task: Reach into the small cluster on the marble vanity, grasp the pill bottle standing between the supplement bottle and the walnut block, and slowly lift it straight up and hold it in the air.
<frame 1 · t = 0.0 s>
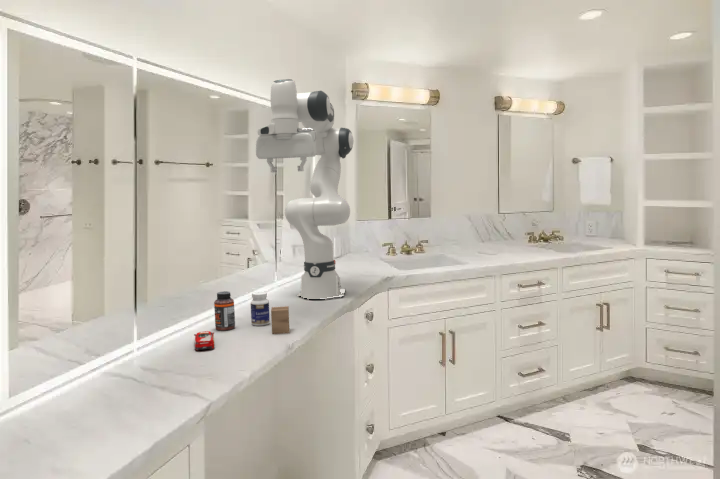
hand: (287, 171, 177), 48 cm above the worktop, fingers open, 8 cm apart
walnut block: (280, 331, 160), on the worktop
supplement bottle: (225, 329, 165), on the worktop
race car: (205, 346, 148), on the worktop
pill bottle: (260, 324, 170), on the worktop
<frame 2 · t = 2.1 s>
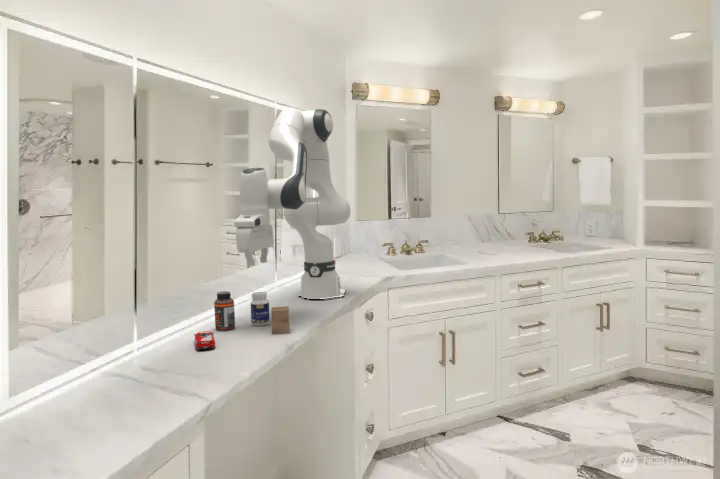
hand: (257, 264, 168), 19 cm above the worktop, fingers open, 8 cm apart
nothing on the worktop moved.
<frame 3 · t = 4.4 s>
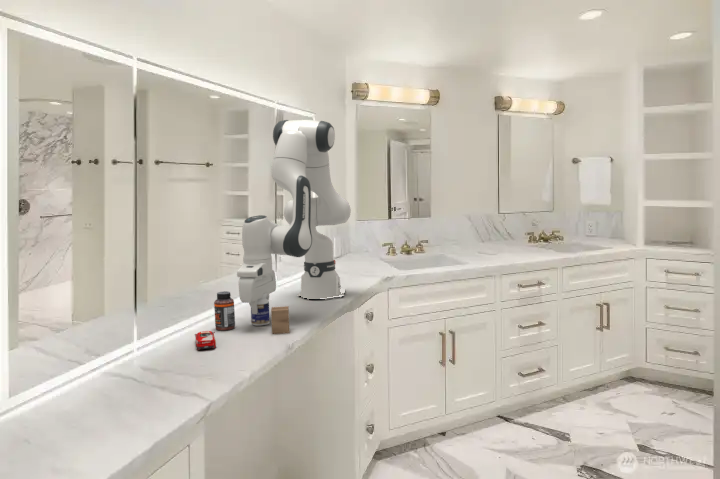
hand: (260, 311, 170), 4 cm above the worktop, fingers closed on pill bottle, 6 cm apart
pill bottle: (260, 324, 170), on the worktop, touching gripper
everything else where it was.
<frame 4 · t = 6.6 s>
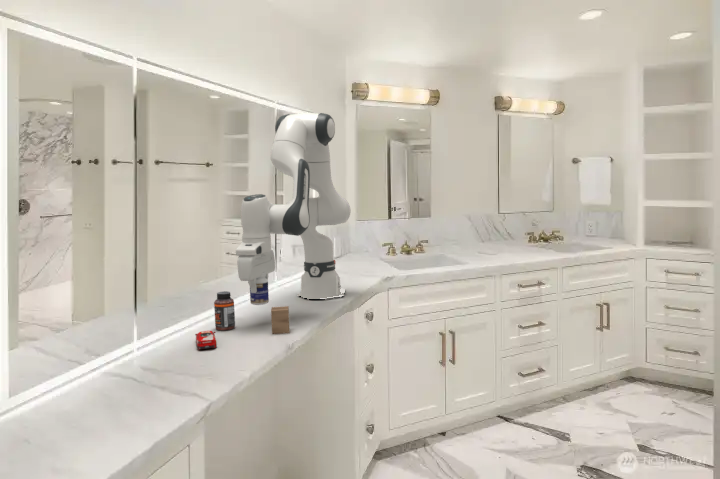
hand: (259, 290, 169), 11 cm above the worktop, fingers closed on pill bottle, 6 cm apart
pill bottle: (259, 304, 170), point 6 cm above the worktop, touching gripper
everything else where it was.
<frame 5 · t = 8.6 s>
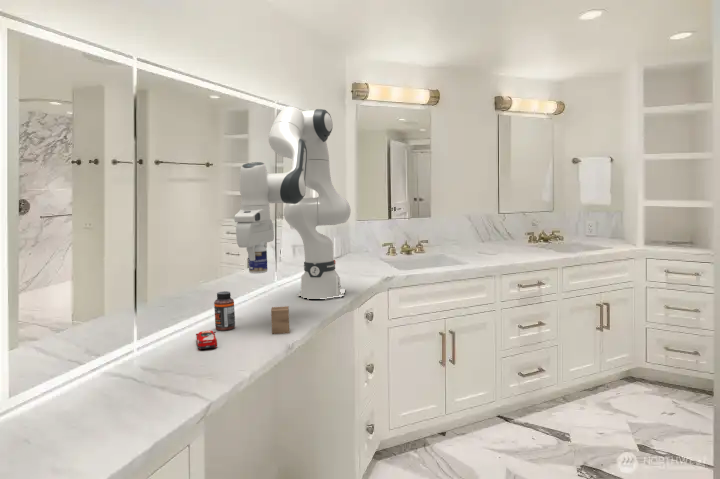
hand: (257, 258, 168), 21 cm above the worktop, fingers closed on pill bottle, 6 cm apart
pill bottle: (258, 273, 169), point 16 cm above the worktop, touching gripper
everything else where it was.
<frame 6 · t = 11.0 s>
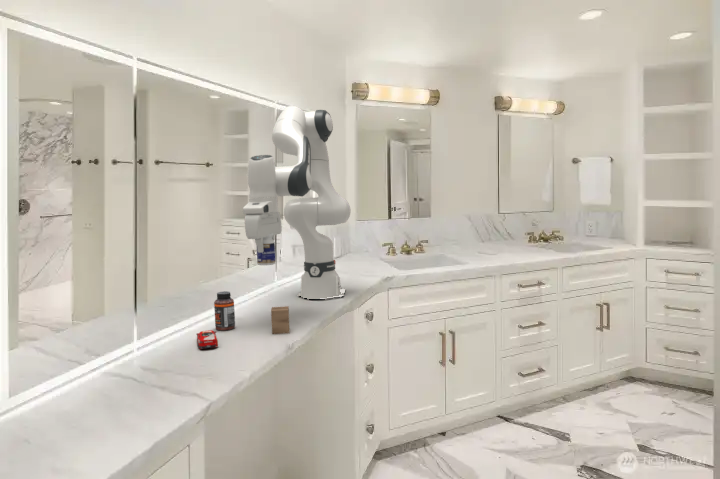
hand: (265, 250, 169), 23 cm above the worktop, fingers closed on pill bottle, 6 cm apart
pill bottle: (266, 265, 170), point 19 cm above the worktop, touching gripper
everything else where it was.
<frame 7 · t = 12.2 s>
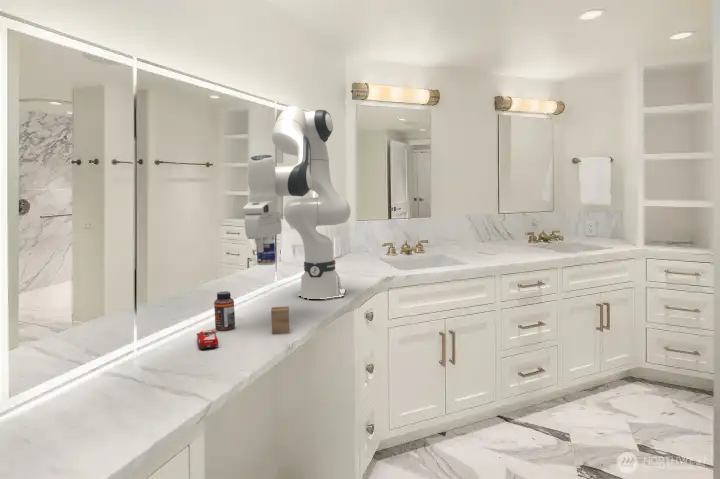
hand: (265, 250, 169), 23 cm above the worktop, fingers closed on pill bottle, 6 cm apart
pill bottle: (266, 265, 170), point 19 cm above the worktop, touching gripper
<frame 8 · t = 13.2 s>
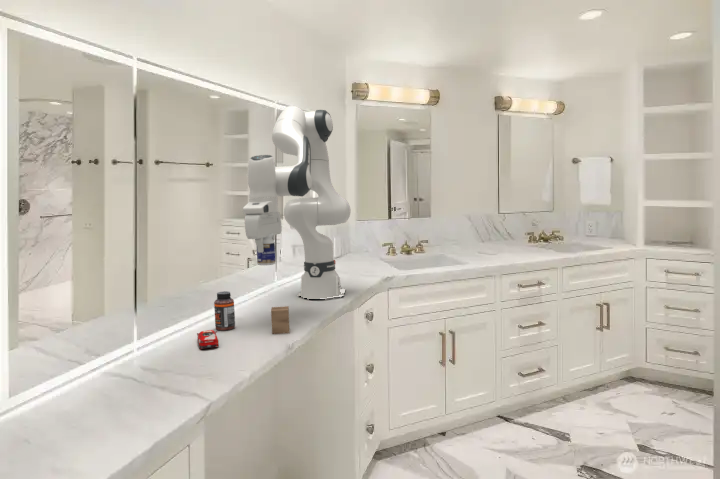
hand: (265, 250, 169), 23 cm above the worktop, fingers closed on pill bottle, 6 cm apart
pill bottle: (266, 265, 170), point 19 cm above the worktop, touching gripper
at the end: the gripper is holding pill bottle; pill bottle point 18.5 cm above the worktop; supplement bottle moved 0.2 cm from its start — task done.
